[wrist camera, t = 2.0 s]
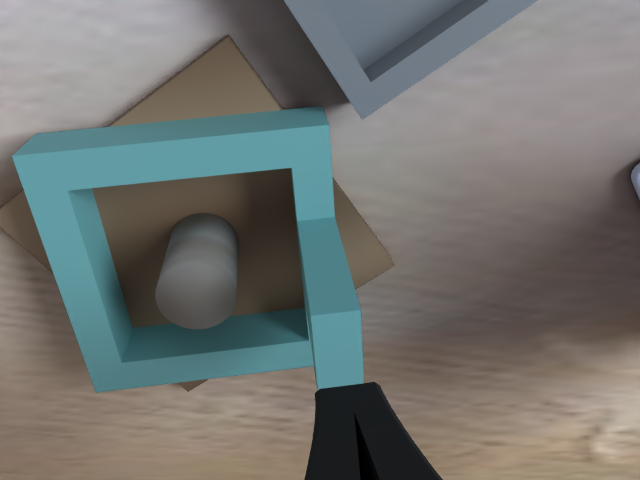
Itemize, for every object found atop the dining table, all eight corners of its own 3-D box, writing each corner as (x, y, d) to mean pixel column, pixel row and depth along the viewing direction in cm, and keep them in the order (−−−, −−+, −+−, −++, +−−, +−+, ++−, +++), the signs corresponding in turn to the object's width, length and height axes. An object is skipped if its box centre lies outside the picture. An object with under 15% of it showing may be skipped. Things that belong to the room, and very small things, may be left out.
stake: (391, 257, 22) (416, 319, 18) (189, 381, 24) (178, 459, 20) (228, 34, 17) (222, 60, 14) (-4, 210, 19) (-60, 271, 16)
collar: (108, 356, 22) (52, 519, 16) (35, 133, 18) (-81, 241, 11) (337, 328, 22) (367, 477, 16) (322, 106, 18) (356, 195, 12)
